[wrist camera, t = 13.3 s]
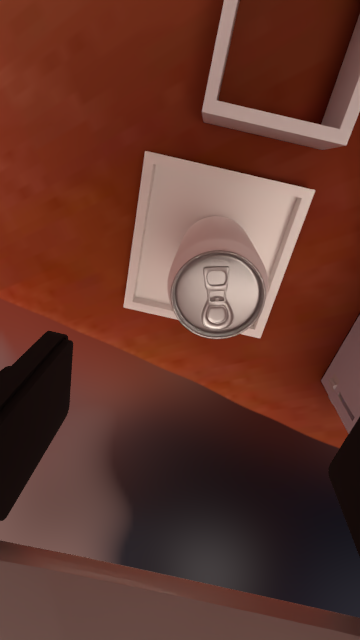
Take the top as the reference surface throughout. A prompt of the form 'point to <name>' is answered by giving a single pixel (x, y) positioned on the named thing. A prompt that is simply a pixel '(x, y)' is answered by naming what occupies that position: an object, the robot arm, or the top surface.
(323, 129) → the white square frame
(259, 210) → the tray
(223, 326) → the can
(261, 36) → the top surface
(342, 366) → the game console
